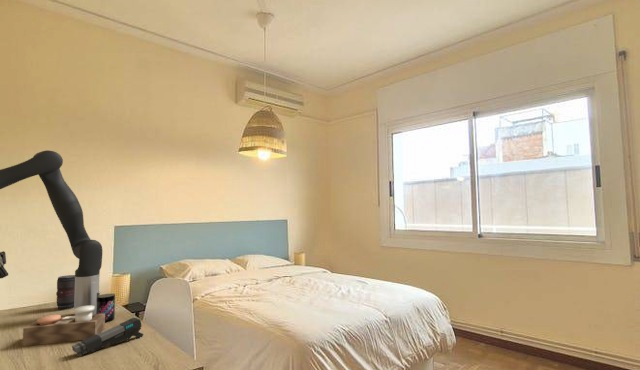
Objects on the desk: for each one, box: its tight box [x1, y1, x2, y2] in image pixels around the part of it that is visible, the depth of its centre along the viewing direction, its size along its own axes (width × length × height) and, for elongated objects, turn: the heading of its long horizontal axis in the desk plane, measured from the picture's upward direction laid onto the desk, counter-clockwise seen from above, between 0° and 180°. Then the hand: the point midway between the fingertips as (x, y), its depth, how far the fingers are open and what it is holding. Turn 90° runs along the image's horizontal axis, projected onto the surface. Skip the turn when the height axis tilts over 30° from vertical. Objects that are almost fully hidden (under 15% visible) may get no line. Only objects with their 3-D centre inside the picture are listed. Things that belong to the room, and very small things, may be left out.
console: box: [22, 314, 106, 347], centre depth 125 cm, size 22×10×6 cm, turn 105°
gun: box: [71, 317, 144, 357], centre depth 116 cm, size 4×20×10 cm, turn 142°
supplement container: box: [96, 293, 116, 324], centre depth 144 cm, size 7×7×10 cm
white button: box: [72, 305, 95, 322], centre depth 127 cm, size 7×7×7 cm
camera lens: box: [56, 274, 75, 311], centre depth 164 cm, size 8×8×15 cm
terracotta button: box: [37, 314, 62, 325], centre depth 124 cm, size 7×7×7 cm
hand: (4, 276), depth 126 cm, fingers closed
